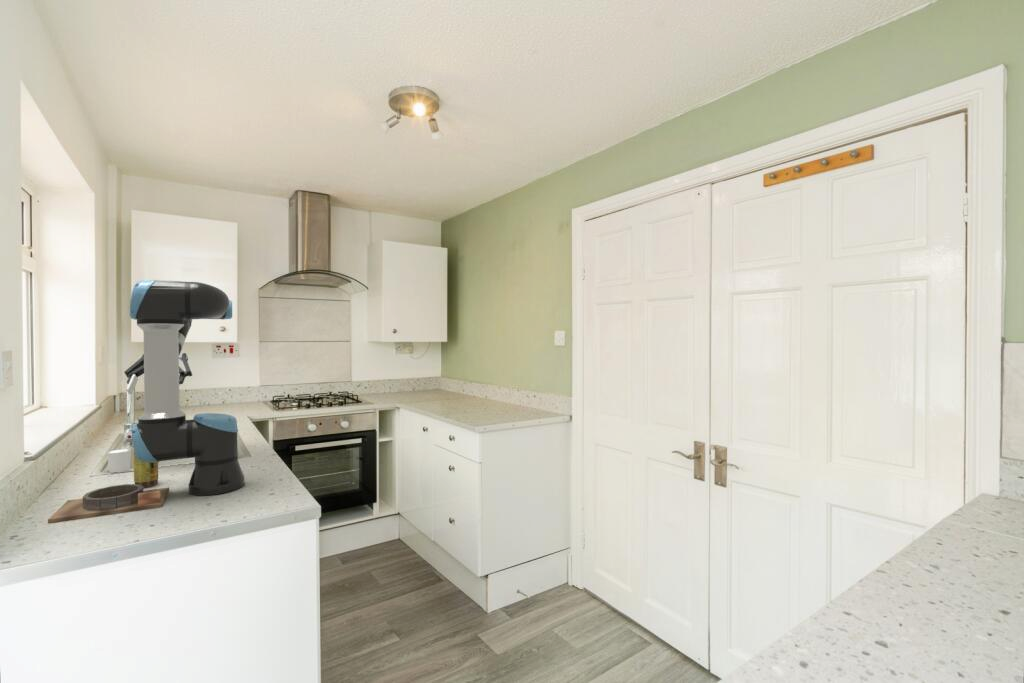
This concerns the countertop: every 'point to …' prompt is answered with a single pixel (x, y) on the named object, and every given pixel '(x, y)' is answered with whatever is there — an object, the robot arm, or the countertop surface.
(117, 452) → the white cube
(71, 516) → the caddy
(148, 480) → the sauce bottle
